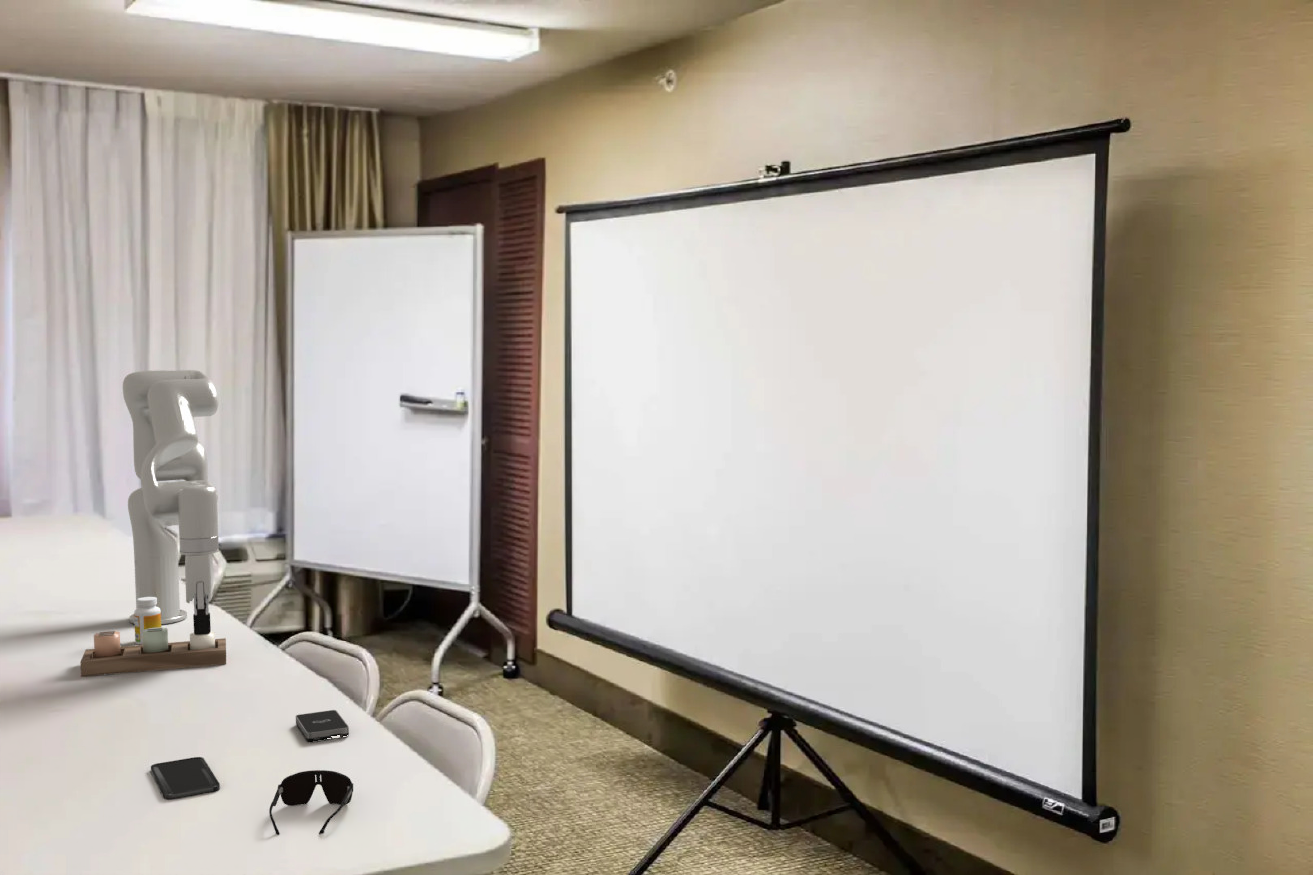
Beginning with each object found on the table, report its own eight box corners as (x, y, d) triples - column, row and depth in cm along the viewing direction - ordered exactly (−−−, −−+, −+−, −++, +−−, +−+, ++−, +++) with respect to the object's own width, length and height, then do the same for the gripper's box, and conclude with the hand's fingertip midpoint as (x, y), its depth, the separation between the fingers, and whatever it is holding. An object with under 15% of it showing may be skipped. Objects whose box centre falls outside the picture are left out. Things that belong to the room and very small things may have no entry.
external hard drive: (307, 745, 202) (306, 733, 202) (295, 726, 212) (294, 714, 212) (349, 739, 205) (349, 727, 205) (335, 720, 215) (335, 709, 215)
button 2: (143, 647, 252) (142, 628, 252) (168, 645, 254) (168, 626, 254) (142, 653, 248) (141, 633, 248) (167, 651, 249) (167, 631, 249)
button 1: (190, 650, 256) (190, 631, 255) (215, 648, 257) (214, 629, 257) (190, 656, 251) (189, 636, 251) (215, 654, 253) (214, 634, 252)
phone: (165, 796, 177) (149, 764, 190) (165, 803, 178) (149, 771, 190) (221, 785, 181) (203, 755, 194) (222, 793, 182) (203, 762, 194)
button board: (86, 663, 251) (85, 649, 251) (226, 652, 260) (225, 638, 260) (81, 676, 242) (80, 661, 242) (226, 664, 251) (225, 649, 251)
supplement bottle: (166, 639, 272) (164, 596, 271) (154, 645, 266) (152, 601, 265) (143, 638, 272) (141, 595, 271) (130, 645, 267) (128, 600, 266)
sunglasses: (356, 801, 178) (355, 769, 177) (339, 845, 166) (337, 811, 165) (283, 802, 177) (281, 770, 176) (260, 847, 166) (257, 813, 165)
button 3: (95, 651, 249) (94, 631, 249) (121, 649, 251) (120, 629, 251) (93, 657, 245) (92, 637, 245) (119, 655, 247) (118, 635, 246)
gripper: (180, 540, 258) (184, 626, 259) (178, 552, 244) (181, 643, 245) (218, 538, 260) (221, 624, 262) (218, 550, 246) (221, 640, 248)
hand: (202, 633), depth 254 cm, fingers closed
